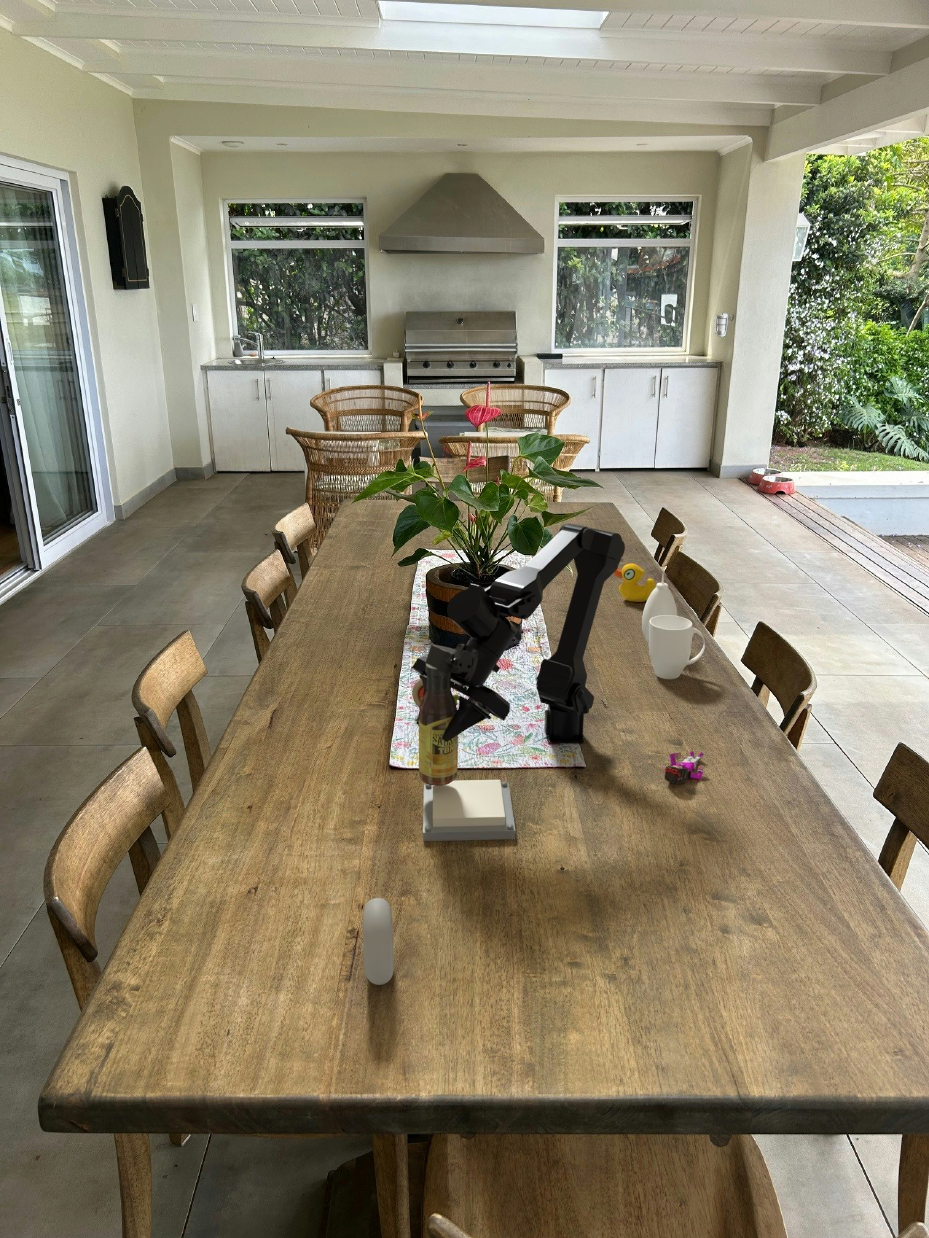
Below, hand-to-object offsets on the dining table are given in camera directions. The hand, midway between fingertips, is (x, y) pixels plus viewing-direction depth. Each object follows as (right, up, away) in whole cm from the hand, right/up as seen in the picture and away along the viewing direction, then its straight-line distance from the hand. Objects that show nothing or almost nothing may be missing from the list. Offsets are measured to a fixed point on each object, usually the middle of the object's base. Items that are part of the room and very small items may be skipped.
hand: (431, 732), depth 144 cm
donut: (-5, -26, -31) cm, 41 cm away
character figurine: (+43, -9, +14) cm, 46 cm away
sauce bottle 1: (+1, -8, +4) cm, 9 cm away
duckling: (+50, +22, +97) cm, 111 cm away
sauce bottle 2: (+50, +11, +67) cm, 84 cm away
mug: (+50, +6, +53) cm, 73 cm away
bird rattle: (0, -1, +36) cm, 36 cm away
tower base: (+6, -13, +2) cm, 15 cm away
